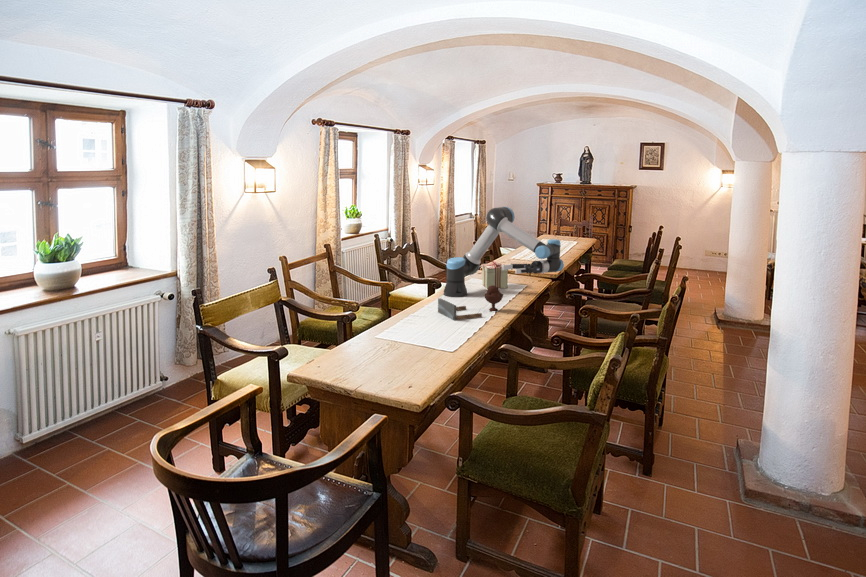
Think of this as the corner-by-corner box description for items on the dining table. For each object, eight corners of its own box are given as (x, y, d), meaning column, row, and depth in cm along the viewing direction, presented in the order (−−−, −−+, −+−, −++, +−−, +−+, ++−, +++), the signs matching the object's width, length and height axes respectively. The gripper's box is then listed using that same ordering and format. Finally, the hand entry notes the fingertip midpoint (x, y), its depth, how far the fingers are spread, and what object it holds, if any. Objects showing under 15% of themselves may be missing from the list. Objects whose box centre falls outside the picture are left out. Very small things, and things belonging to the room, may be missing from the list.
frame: (464, 309, 346) (465, 295, 345) (481, 317, 329) (482, 302, 328) (438, 312, 339) (438, 298, 337) (453, 320, 322) (454, 305, 320)
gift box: (476, 285, 415) (476, 260, 411) (501, 284, 419) (502, 259, 416) (484, 290, 399) (484, 264, 395) (510, 289, 403) (510, 263, 399)
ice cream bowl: (504, 312, 339) (505, 286, 336) (485, 312, 338) (485, 287, 335) (501, 308, 350) (502, 283, 346) (482, 308, 349) (482, 283, 346)
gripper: (552, 276, 342) (521, 279, 333) (527, 269, 364) (497, 272, 355) (552, 263, 340) (521, 266, 331) (527, 257, 362) (497, 259, 353)
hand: (509, 269), depth 343 cm, fingers open, 13 cm apart
